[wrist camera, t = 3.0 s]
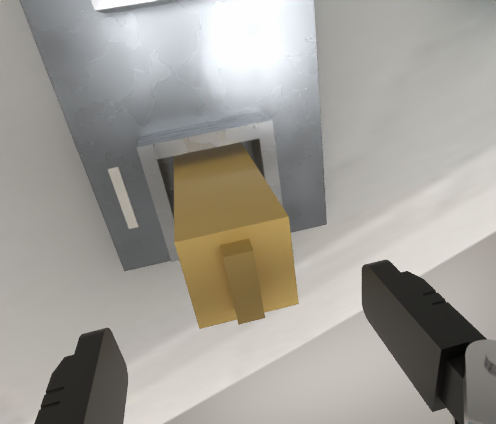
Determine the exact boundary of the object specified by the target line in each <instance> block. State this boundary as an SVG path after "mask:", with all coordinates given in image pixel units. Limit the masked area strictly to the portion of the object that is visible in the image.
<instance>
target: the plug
mask: <svg viewBox="0 0 496 424" xmlns="http://www.w3.org/2000/svg"><path fill="white" fill-rule="evenodd" d="M174 243H175V247H176V250H177V253H178V257H179V260H180V264H181V267H182V271H183V274H184V277H185V281H186V284H187V288H188V291H189V294H190V298H191V301H192V305H193V308H194V311H195V315H196V318H197V322H198V325H199V328H200V329H201V328H205V327H209V326H213V325H217V324H221V323H225V322H229V321H233V320H238V324H242V323H246V322H250V321H254V320H258V319H262V318H265V315H264V312H268V311H272V310H276V309H280V308H284V307H288V306H292V305H296V304H299V303H298V295H297V286H296V277H295V268H294V259H293V250H292V241H291V233H290V224H289V216H288V215H287V213H286V212H285V210H284V208H283V207H282V205H281V204H280V202H279V201H278V199H277V197H276V196H275V194H274V193H273V191H272V190H271V188H270V187H269V185H268V183H267V182H266V180H265V179H264V177H263V176H262V174H261V172H260V171H259V169H258V168H257V166H256V165H255V163H254V162H253V160H252V158H251V157H250V155H249V154H248V152H247V151H246V149H245V148H244V146H243V144H242V143H241V142H239V143H234V144H229V145H224V146H220V147H215V148H210V149H205V150H200V151H195V152H190V153H185V154H180V155H176V156H174Z"/></svg>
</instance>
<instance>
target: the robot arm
mask: <svg viewBox="0 0 496 424" xmlns="http://www.w3.org/2000/svg"><path fill="white" fill-rule="evenodd" d="M362 306H363V310H364V313H365V315H366V318H367V319H368V321H369V323H370V324H371V325H372V326H373V328H374V330H375V331H376V332H377V334H378V335H379V337H380V338H381V339H382V341H383V342H384V344H385V345H386V347H387V348H388V350H389V351H390V352H391V354H392V355H393V357H394V358H395V360H396V361H397V362H398V364H399V365H400V367H401V368H402V369H403V371H404V372H405V374H406V375H407V376H408V378H409V379H410V381H411V382H412V383H413V385H414V387H415V388H416V389H417V391H418V392H419V394H420V395H421V396H422V398H423V399H424V401H425V402H426V404H427V405H428V406H429V408H430V409H431V411H432V412H434V411H437V410H440V409H444V408H447V409H448V410H449V411H450V413H451V414H452V415H453V423H452V424H496V341H495V340H487V339H486V338H485V337H484V336H483V335H482V334H481V333H480V332H479V331H478V330H477V329H476V328H474V327H473V326H472V325H471V324H470V323H469V322H468V321H467V320H466V319H465V318H464V317H463V316H462V315H461V314H460V313H459V312H458V311H456V310H455V309H454V308H453V307H452V306H451V305H450V304H449V303H448V302H447V303H446V301H445V299H444V298H442V296H441V295H440V294H439V293H436V291H435V290H434V289H433V288H432V287H431V286H430V285H429V284H428V283H427V282H426V281H425V280H424V279H422V278H420V277H418V276H416V275H414V274H412V273H410V272H408V271H406V272H402V273H401V272H400V271H399V270H398V269H397V268H396V267H395V266H394V265H393V264H392V263H391V262H390V261H388V260H382V261H378V262H374V263H370V264H366V265H363V267H362ZM127 387H128V373H127V367H126V364H125V361H124V359H123V356H122V354H121V352H120V350H119V347H118V345H117V343H116V340H115V338H114V336H113V334H112V332H111V330H110V329H109V328H105V329H101V330H97V331H93V332H89V333H85V334H82V335H81V336H80V338H79V341H78V344H77V347H76V350H75V354H74V355H71V356H67V357H64V359H63V360H62V361H61V363H60V364H59V365H58V367H57V368H56V369H55V371H54V372H53V373H52V375H51V378H50V381H49V384H48V387H47V390H46V395H44V398H43V401H42V404H41V410H39V412H38V415H37V418H36V421H35V424H123V420H124V412H125V404H126V395H127Z"/></svg>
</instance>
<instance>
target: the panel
mask: <svg viewBox="0 0 496 424" xmlns="http://www.w3.org/2000/svg"><path fill="white" fill-rule="evenodd" d="M20 3H21V5H22V8H23V10H24V13H25V15H26V18H27V21H28V23H29V26H30V28H31V31H32V34H33V36H34V39H35V41H36V44H37V46H38V49H39V52H40V54H41V57H42V59H43V62H44V64H45V67H46V70H47V72H48V75H49V77H50V80H51V83H52V85H53V88H54V90H55V93H56V95H57V98H58V101H59V103H60V106H61V108H62V111H63V114H64V116H65V119H66V121H67V124H68V126H69V129H70V132H71V134H72V137H73V139H74V142H75V145H76V147H77V150H78V152H79V155H80V157H81V160H82V163H83V165H84V168H85V170H86V173H87V176H88V178H89V181H90V183H91V186H92V188H93V191H94V194H95V196H96V199H97V201H98V204H99V206H100V209H101V212H102V214H103V217H104V219H105V222H106V225H107V227H108V230H109V232H110V235H111V237H112V240H113V243H114V245H115V248H116V250H117V253H118V256H119V258H120V261H121V263H122V266H123V268H124V271H128V270H132V269H137V268H141V267H145V266H149V265H154V264H158V263H162V262H167V261H171V262H172V261H176V260H179V257H178V253H177V250H176V247H175V243H174V156H176V155H180V154H185V153H190V152H195V151H200V150H205V149H210V148H215V147H220V146H224V145H229V144H234V143H239V142H241V143H242V144H243V146H244V148H245V149H246V151H247V152H248V154H249V155H250V157H251V158H252V160H253V162H254V163H255V165H256V166H257V168H258V169H259V171H260V172H261V174H262V176H263V177H264V179H265V180H266V182H267V183H268V185H269V187H270V188H271V190H272V191H273V193H274V194H275V196H276V197H277V199H278V201H279V202H280V204H281V205H282V207H283V208H284V210H285V212H286V213H287V215H288V216H289V224H290V233H291V232H296V231H300V230H304V229H308V228H313V227H317V226H321V225H326V224H327V222H326V204H325V187H324V169H323V152H322V135H321V117H320V100H319V82H318V65H317V48H316V30H315V13H314V0H20Z"/></svg>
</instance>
